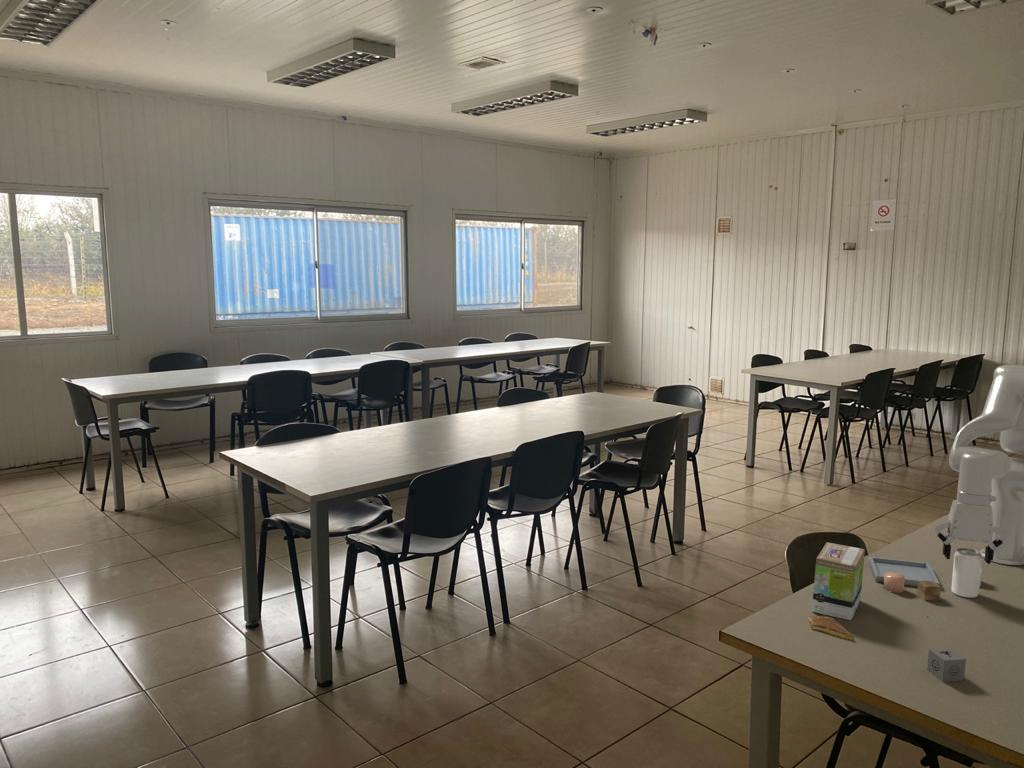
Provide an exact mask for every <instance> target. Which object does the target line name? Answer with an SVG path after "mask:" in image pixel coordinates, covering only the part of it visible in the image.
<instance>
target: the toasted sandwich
mask: <svg viewBox="0 0 1024 768" xmlns="http://www.w3.org/2000/svg"><path fill="white" fill-rule="evenodd" d="M807 618H808V620H809V622H810V623H811V625H810V629H811V630H815V631H819V632H823V633H825V634H828V633H829V634H828V635H832V636H834V635H835V636H836V637H837V636H839V637H838V638H841V637H842V638H841V639H844V638H847V639H846V640H848V639H850V640H849V641H853V639H854V638H855V637H854V636H853V635H852V634H851V633H850V632H849V631H848V630H847V629H846V627H844V626H843V625H842V624H841V623H840V622H839V621H838V620H836V619H835V617H831V616H823V615H822V616H812V615H811V616H808V617H807Z"/></svg>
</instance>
